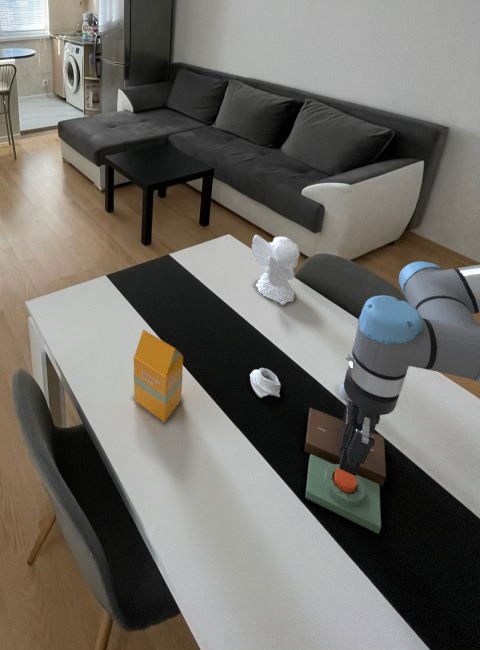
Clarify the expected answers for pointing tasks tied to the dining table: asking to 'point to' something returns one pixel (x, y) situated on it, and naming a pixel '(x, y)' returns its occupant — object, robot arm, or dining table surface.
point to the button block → (344, 495)
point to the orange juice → (157, 376)
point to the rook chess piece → (343, 392)
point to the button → (345, 481)
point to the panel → (327, 446)
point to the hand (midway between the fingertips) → (347, 468)
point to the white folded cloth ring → (265, 383)
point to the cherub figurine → (276, 267)
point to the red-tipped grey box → (345, 424)
